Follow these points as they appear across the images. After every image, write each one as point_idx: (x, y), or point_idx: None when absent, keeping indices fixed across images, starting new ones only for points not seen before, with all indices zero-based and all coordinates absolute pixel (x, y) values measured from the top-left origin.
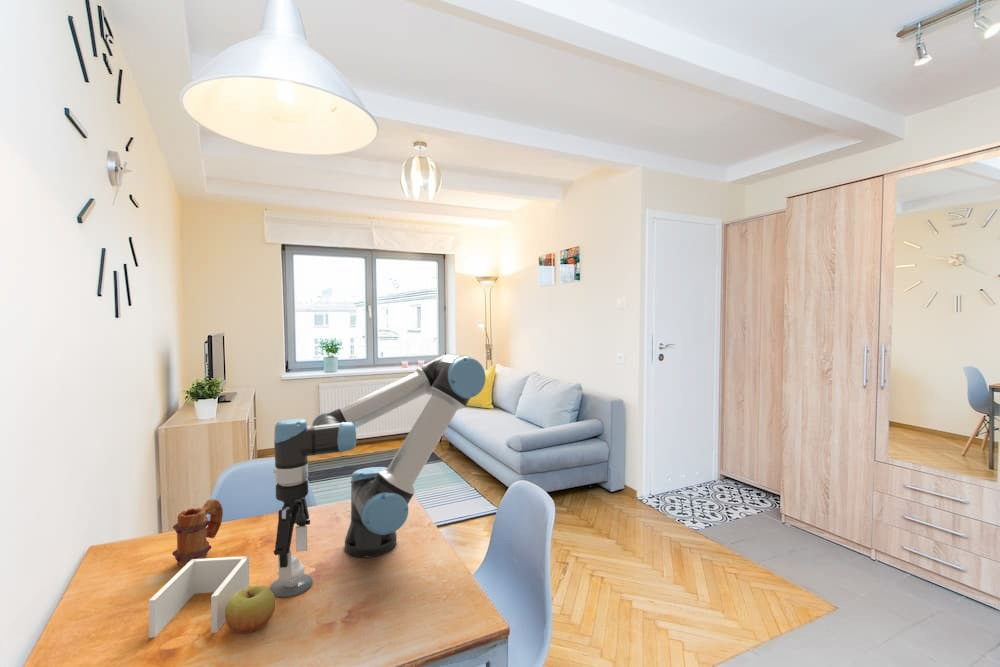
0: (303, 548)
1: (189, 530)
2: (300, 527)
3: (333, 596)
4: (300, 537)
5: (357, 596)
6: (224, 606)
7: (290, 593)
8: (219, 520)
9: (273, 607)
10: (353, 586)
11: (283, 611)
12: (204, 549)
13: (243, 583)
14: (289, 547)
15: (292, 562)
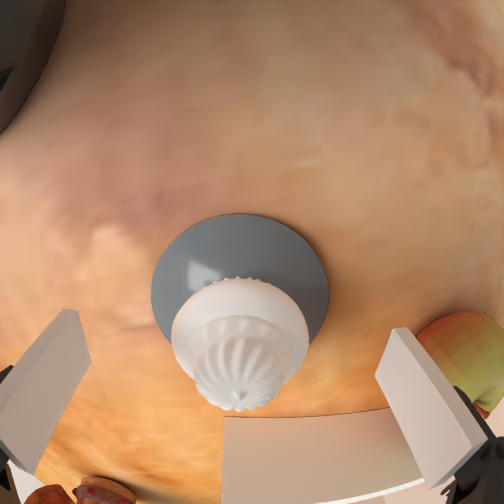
0: (75, 336)
1: None
2: (15, 454)
3: (367, 105)
4: (46, 399)
5: (378, 21)
6: (401, 437)
7: (319, 292)
8: (36, 500)
9: (488, 320)
10: (300, 26)
11: (409, 285)
12: (105, 499)
13: (272, 447)
14: (499, 465)
15: (279, 374)
